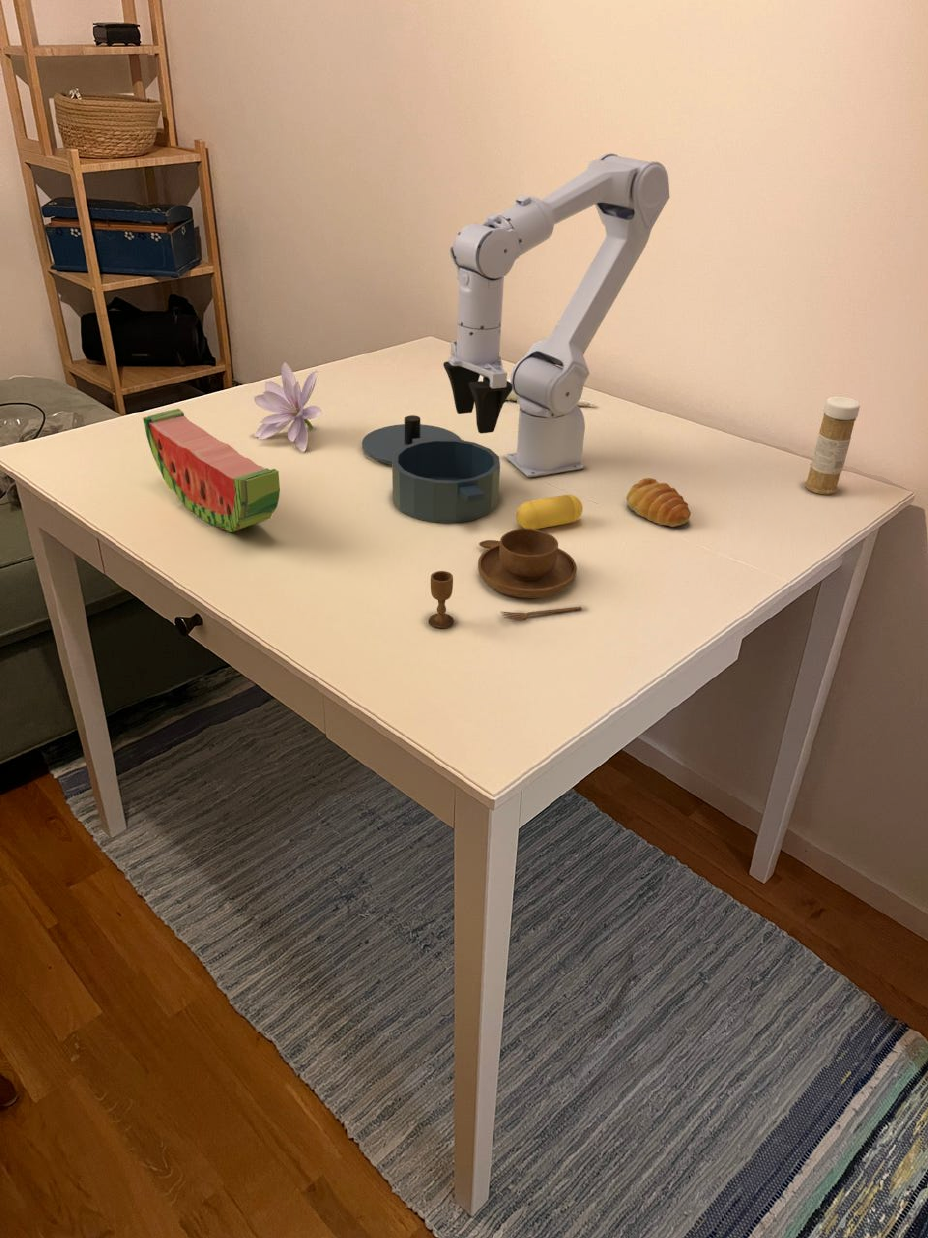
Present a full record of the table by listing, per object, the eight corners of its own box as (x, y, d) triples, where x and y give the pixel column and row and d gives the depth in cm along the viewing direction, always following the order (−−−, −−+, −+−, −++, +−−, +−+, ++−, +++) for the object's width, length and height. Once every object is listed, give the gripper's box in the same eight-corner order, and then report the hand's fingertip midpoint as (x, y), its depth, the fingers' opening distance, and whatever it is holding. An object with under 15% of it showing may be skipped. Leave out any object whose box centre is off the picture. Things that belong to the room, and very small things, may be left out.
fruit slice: (151, 484, 132) (139, 416, 126) (191, 473, 135) (182, 406, 130) (246, 556, 115) (237, 482, 110) (289, 540, 119) (283, 468, 113)
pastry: (701, 523, 126) (706, 497, 124) (664, 534, 123) (668, 508, 121) (655, 496, 133) (659, 471, 131) (619, 506, 130) (622, 481, 128)
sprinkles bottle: (823, 480, 139) (846, 393, 132) (843, 493, 136) (868, 404, 128) (797, 484, 138) (819, 396, 130) (817, 497, 134) (841, 408, 127)
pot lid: (439, 425, 153) (440, 395, 151) (478, 461, 141) (480, 429, 139) (349, 437, 148) (347, 406, 145) (381, 476, 136) (381, 443, 133)
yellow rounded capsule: (572, 513, 128) (575, 488, 126) (586, 525, 125) (589, 499, 123) (510, 524, 125) (512, 498, 122) (523, 537, 122) (525, 510, 120)
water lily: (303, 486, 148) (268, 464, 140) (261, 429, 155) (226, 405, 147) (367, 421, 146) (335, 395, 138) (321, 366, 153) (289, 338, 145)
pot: (464, 464, 140) (465, 426, 137) (524, 521, 125) (526, 481, 122) (372, 478, 135) (371, 439, 132) (422, 539, 120) (423, 498, 117)
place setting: (601, 609, 107) (606, 565, 104) (433, 633, 102) (433, 587, 99) (547, 538, 121) (551, 497, 118) (397, 556, 116) (397, 514, 113)
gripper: (431, 310, 126) (429, 407, 134) (473, 341, 115) (468, 444, 123) (478, 307, 129) (474, 402, 136) (524, 337, 118) (517, 438, 125)
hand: (474, 422), depth 130 cm, fingers open, 7 cm apart
